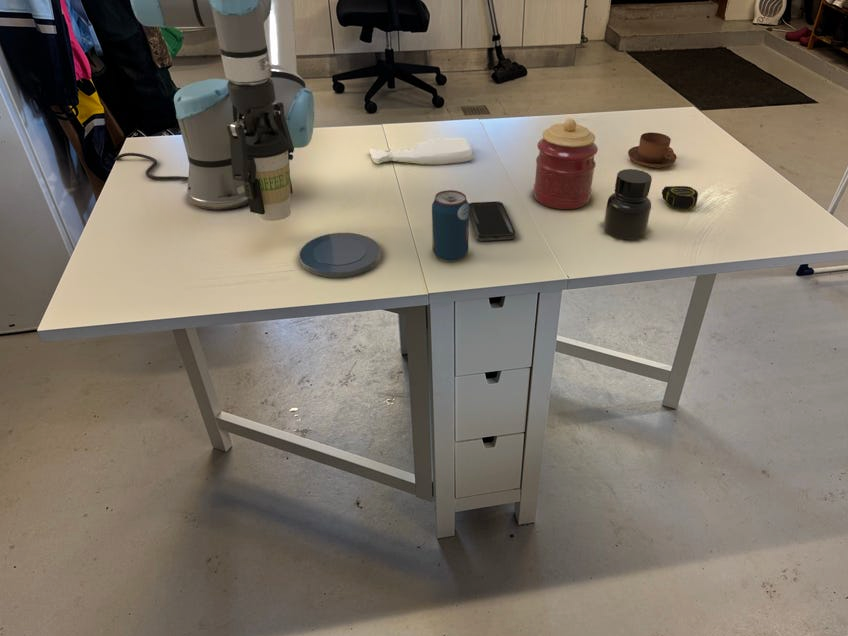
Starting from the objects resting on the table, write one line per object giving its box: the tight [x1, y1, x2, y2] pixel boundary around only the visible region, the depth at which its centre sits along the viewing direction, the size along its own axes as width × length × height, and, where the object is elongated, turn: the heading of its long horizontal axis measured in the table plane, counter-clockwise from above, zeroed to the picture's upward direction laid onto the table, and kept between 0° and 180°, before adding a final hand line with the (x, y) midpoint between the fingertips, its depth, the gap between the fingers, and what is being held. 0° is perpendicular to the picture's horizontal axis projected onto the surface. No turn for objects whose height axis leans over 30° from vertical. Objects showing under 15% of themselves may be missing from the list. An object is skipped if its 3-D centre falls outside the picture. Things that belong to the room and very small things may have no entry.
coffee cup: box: [247, 130, 292, 222], centre depth 123 cm, size 10×10×15 cm
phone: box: [468, 200, 516, 242], centre depth 138 cm, size 8×1×15 cm
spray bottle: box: [369, 137, 474, 166], centre depth 163 cm, size 3×11×24 cm
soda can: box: [431, 189, 470, 263], centre depth 124 cm, size 7×7×12 cm
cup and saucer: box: [627, 132, 678, 168], centre depth 164 cm, size 12×12×6 cm
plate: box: [299, 232, 381, 279], centre depth 125 cm, size 15×15×1 cm
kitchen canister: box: [533, 118, 599, 210], centre depth 143 cm, size 13×13×18 cm
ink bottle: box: [603, 168, 653, 240], centre depth 134 cm, size 10×9×12 cm
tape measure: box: [661, 185, 699, 210], centre depth 146 cm, size 7×7×4 cm
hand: (272, 202), depth 126 cm, fingers closed on coffee cup, 9 cm apart
